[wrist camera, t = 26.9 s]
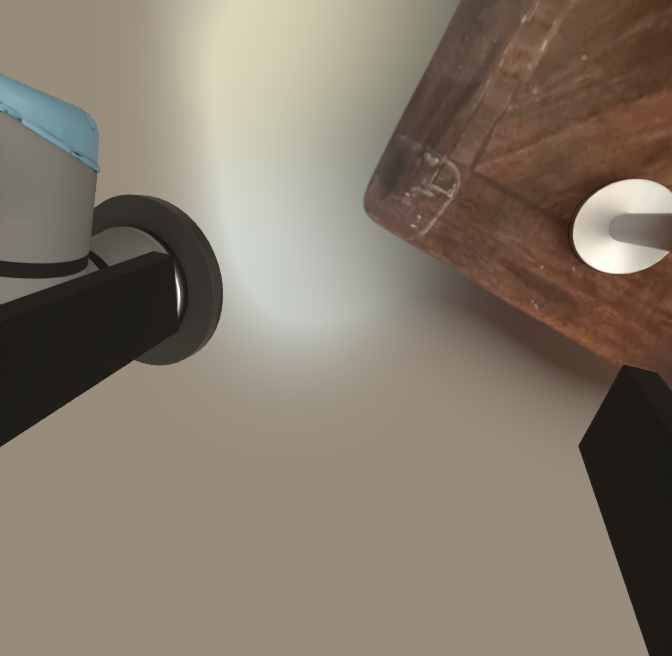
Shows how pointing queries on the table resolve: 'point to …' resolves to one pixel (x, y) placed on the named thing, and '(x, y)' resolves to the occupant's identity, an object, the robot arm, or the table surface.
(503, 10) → the table surface
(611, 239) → the stand
